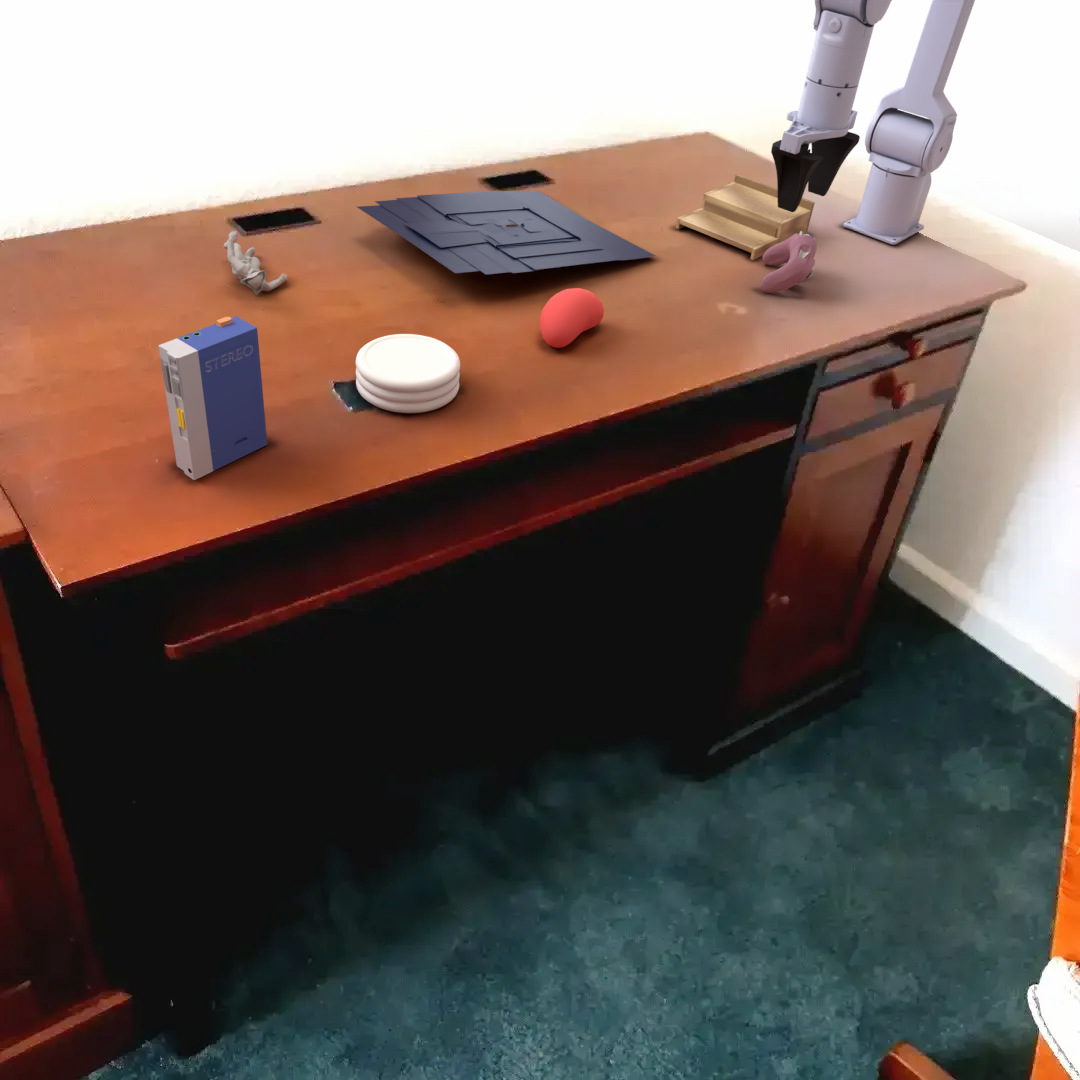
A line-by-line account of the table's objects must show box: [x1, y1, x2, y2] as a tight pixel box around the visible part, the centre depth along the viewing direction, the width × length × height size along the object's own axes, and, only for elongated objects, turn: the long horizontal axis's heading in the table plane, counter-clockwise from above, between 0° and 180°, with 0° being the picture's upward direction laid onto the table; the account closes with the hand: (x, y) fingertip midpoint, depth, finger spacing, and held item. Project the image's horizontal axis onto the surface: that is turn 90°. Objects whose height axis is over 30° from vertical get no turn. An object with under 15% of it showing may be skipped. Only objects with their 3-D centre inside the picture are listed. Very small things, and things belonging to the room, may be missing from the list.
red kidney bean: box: [539, 287, 605, 349], centre depth 114 cm, size 5×9×6 cm
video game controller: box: [759, 231, 818, 294], centre depth 130 cm, size 10×5×7 cm, turn 168°
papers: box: [356, 190, 656, 276], centre depth 131 cm, size 24×30×4 cm
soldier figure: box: [223, 230, 289, 296], centre depth 117 cm, size 8×5×12 cm
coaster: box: [355, 333, 461, 414], centre depth 103 cm, size 10×10×4 cm
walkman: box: [157, 315, 268, 481], centre depth 89 cm, size 8×3×12 cm, turn 140°
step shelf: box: [675, 173, 816, 261], centre depth 141 cm, size 14×12×4 cm
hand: (801, 201), depth 125 cm, fingers open, 7 cm apart
